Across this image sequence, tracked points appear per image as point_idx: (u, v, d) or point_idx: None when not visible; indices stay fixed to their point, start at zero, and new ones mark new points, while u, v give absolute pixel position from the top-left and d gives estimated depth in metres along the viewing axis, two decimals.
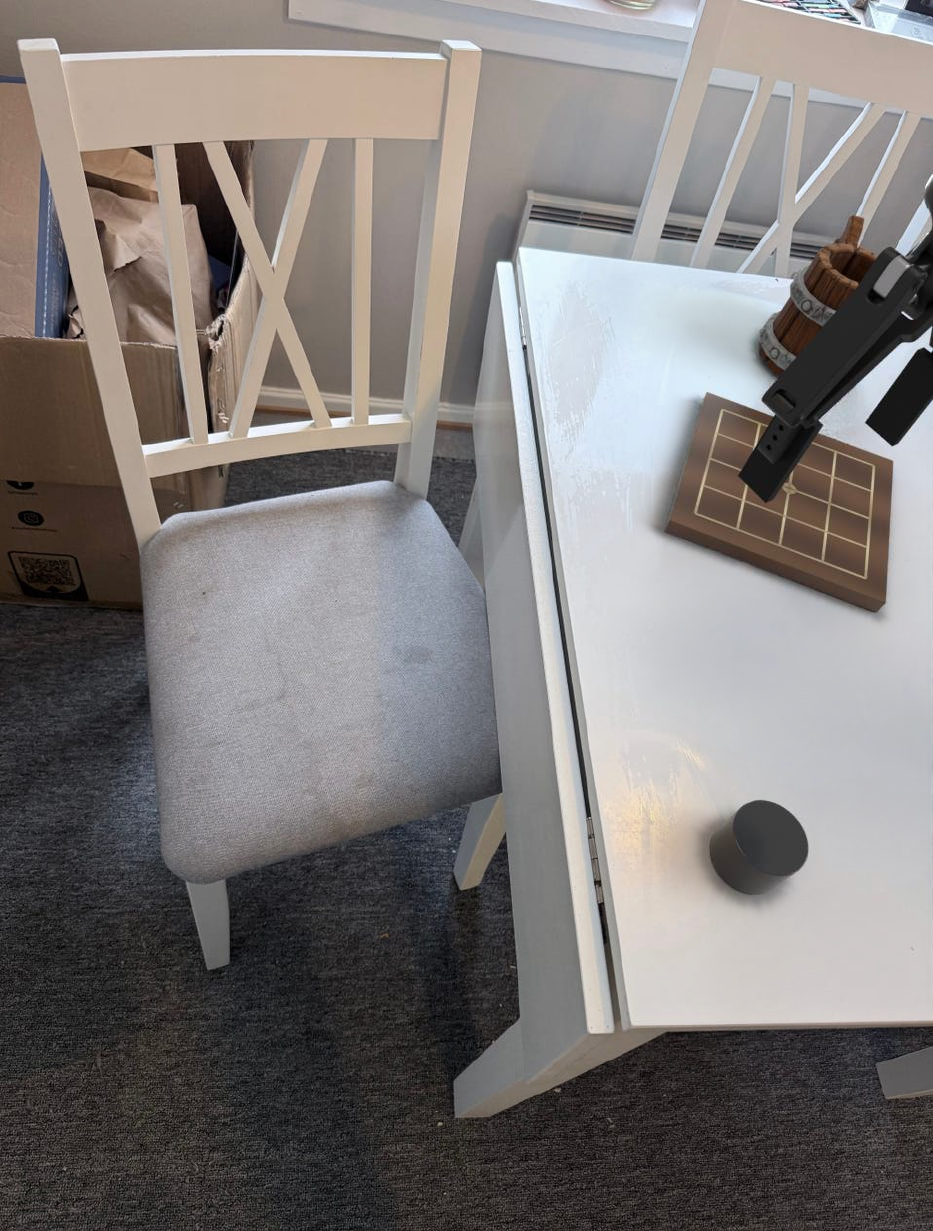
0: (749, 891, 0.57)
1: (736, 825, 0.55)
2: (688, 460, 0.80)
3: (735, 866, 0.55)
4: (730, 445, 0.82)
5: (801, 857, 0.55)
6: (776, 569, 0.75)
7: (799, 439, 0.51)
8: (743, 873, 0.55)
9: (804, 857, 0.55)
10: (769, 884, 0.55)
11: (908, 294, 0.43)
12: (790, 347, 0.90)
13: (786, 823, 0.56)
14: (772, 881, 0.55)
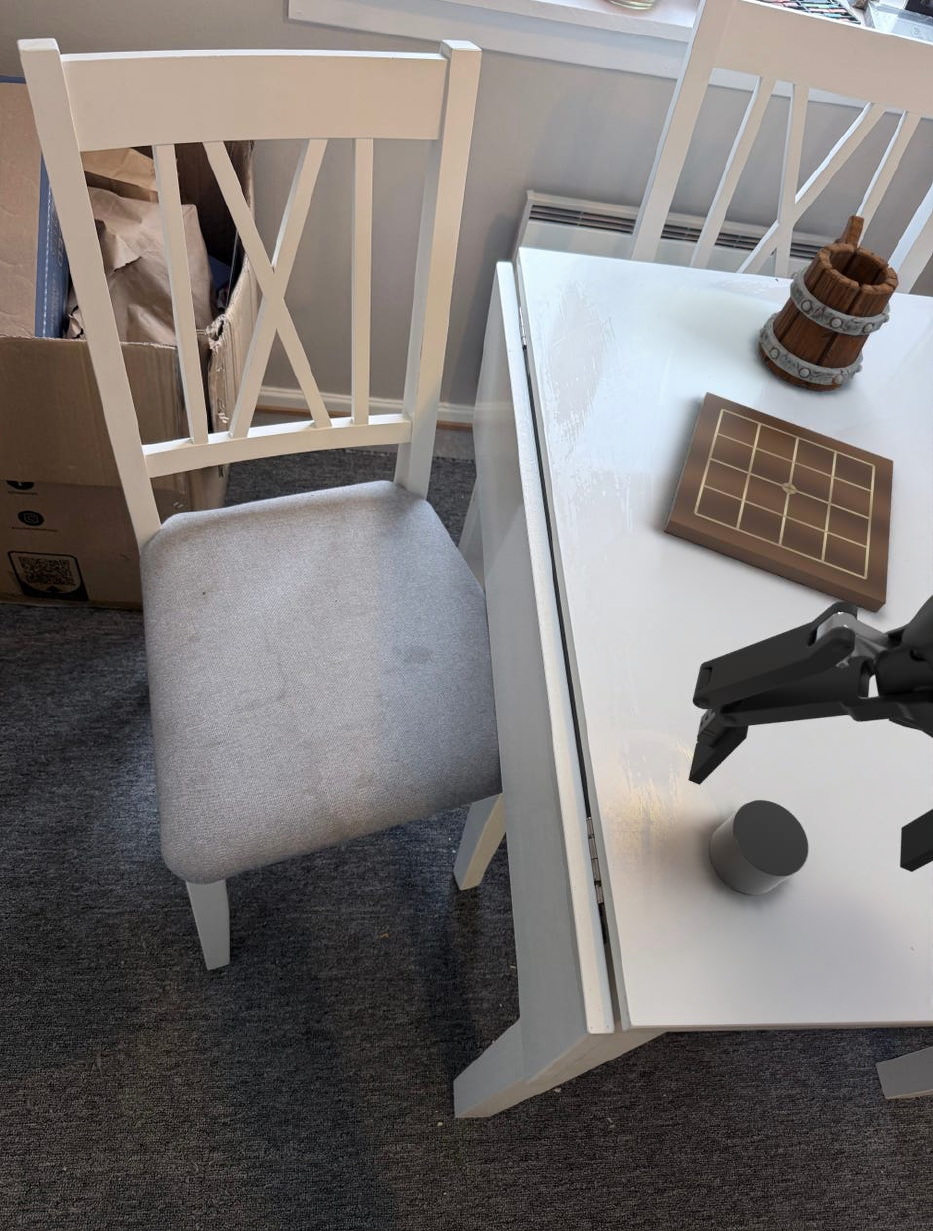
0: (749, 891, 0.57)
1: (736, 825, 0.55)
2: (688, 460, 0.80)
3: (735, 866, 0.55)
4: (730, 445, 0.82)
5: (801, 857, 0.55)
6: (776, 569, 0.75)
7: (725, 736, 0.48)
8: (743, 873, 0.55)
9: (804, 857, 0.55)
10: (769, 884, 0.55)
11: (829, 652, 0.39)
12: (790, 347, 0.90)
13: (786, 823, 0.56)
14: (772, 881, 0.55)
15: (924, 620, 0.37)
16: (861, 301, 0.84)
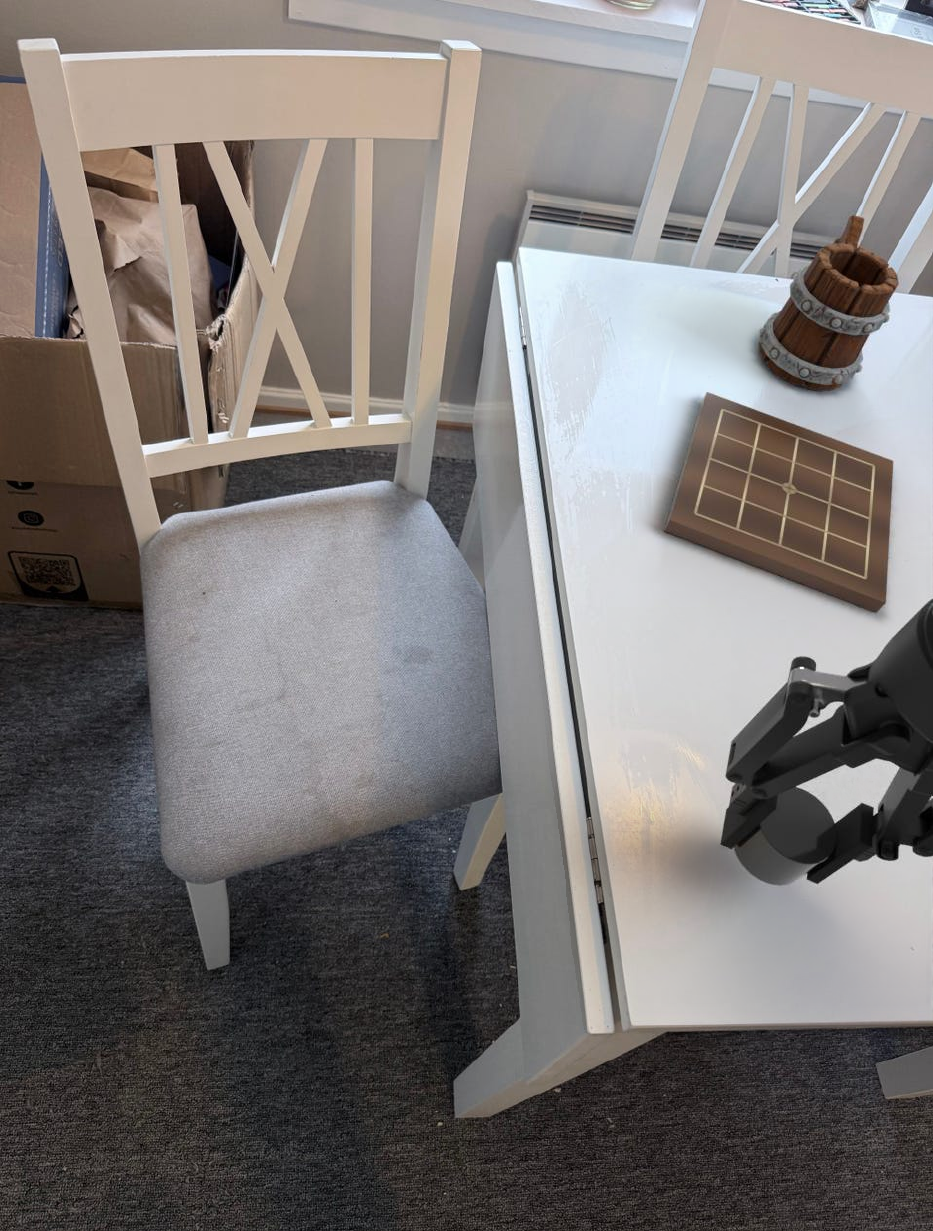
0: (775, 881, 0.54)
1: None
2: (688, 460, 0.80)
3: (760, 854, 0.53)
4: (730, 445, 0.82)
5: (830, 845, 0.52)
6: (776, 569, 0.75)
7: (755, 806, 0.51)
8: (769, 862, 0.53)
9: (833, 845, 0.52)
10: (796, 873, 0.53)
11: (794, 706, 0.43)
12: (790, 347, 0.90)
13: (813, 809, 0.53)
14: (799, 869, 0.52)
15: (887, 659, 0.40)
16: (861, 301, 0.84)
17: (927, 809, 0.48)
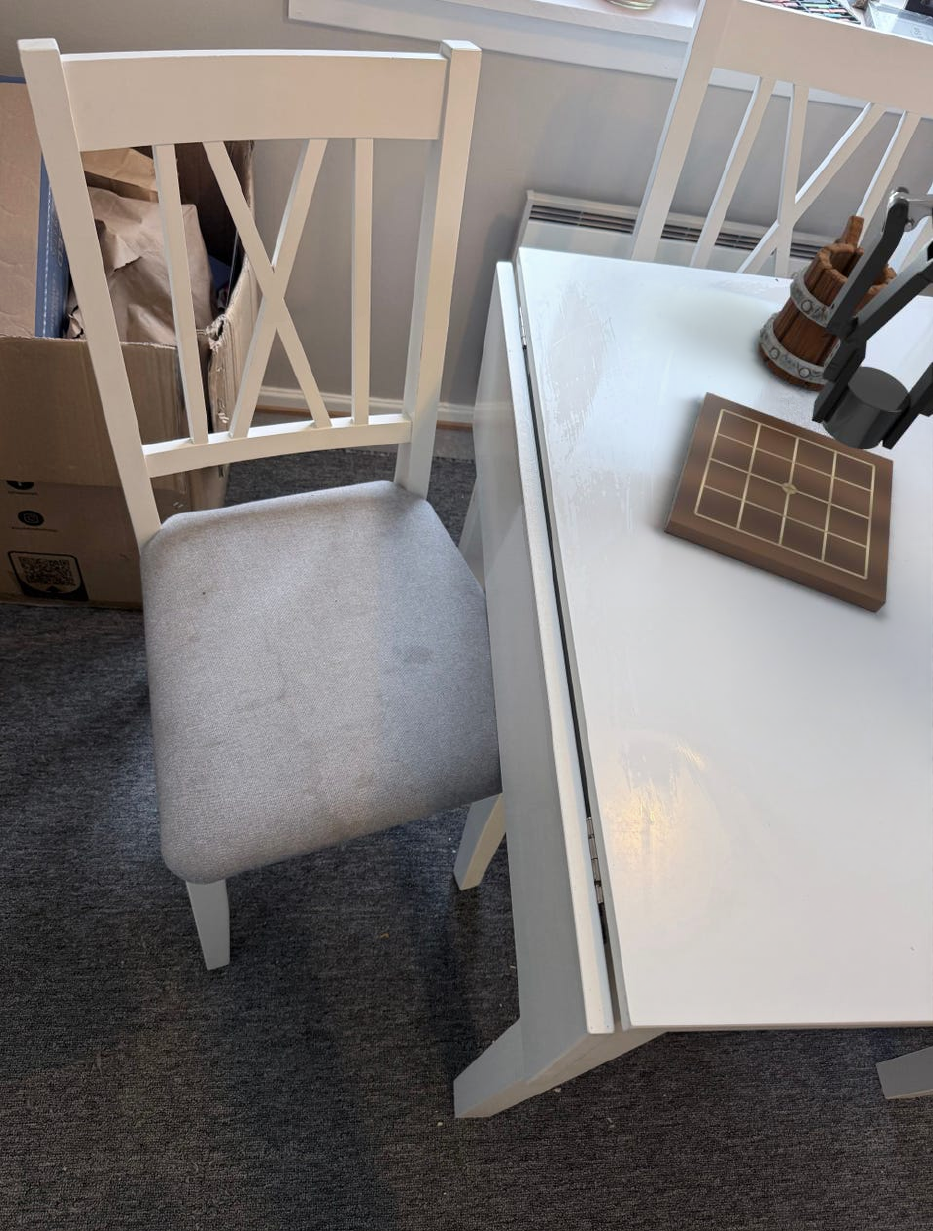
0: (858, 443, 0.66)
1: None
2: (688, 460, 0.80)
3: (847, 414, 0.65)
4: (730, 445, 0.82)
5: (905, 402, 0.65)
6: (776, 569, 0.75)
7: (846, 364, 0.64)
8: (855, 419, 0.65)
9: (907, 403, 0.65)
10: (877, 428, 0.65)
11: (893, 221, 0.55)
12: (790, 347, 0.90)
13: (890, 382, 0.66)
14: (880, 421, 0.64)
15: None
16: None
17: None
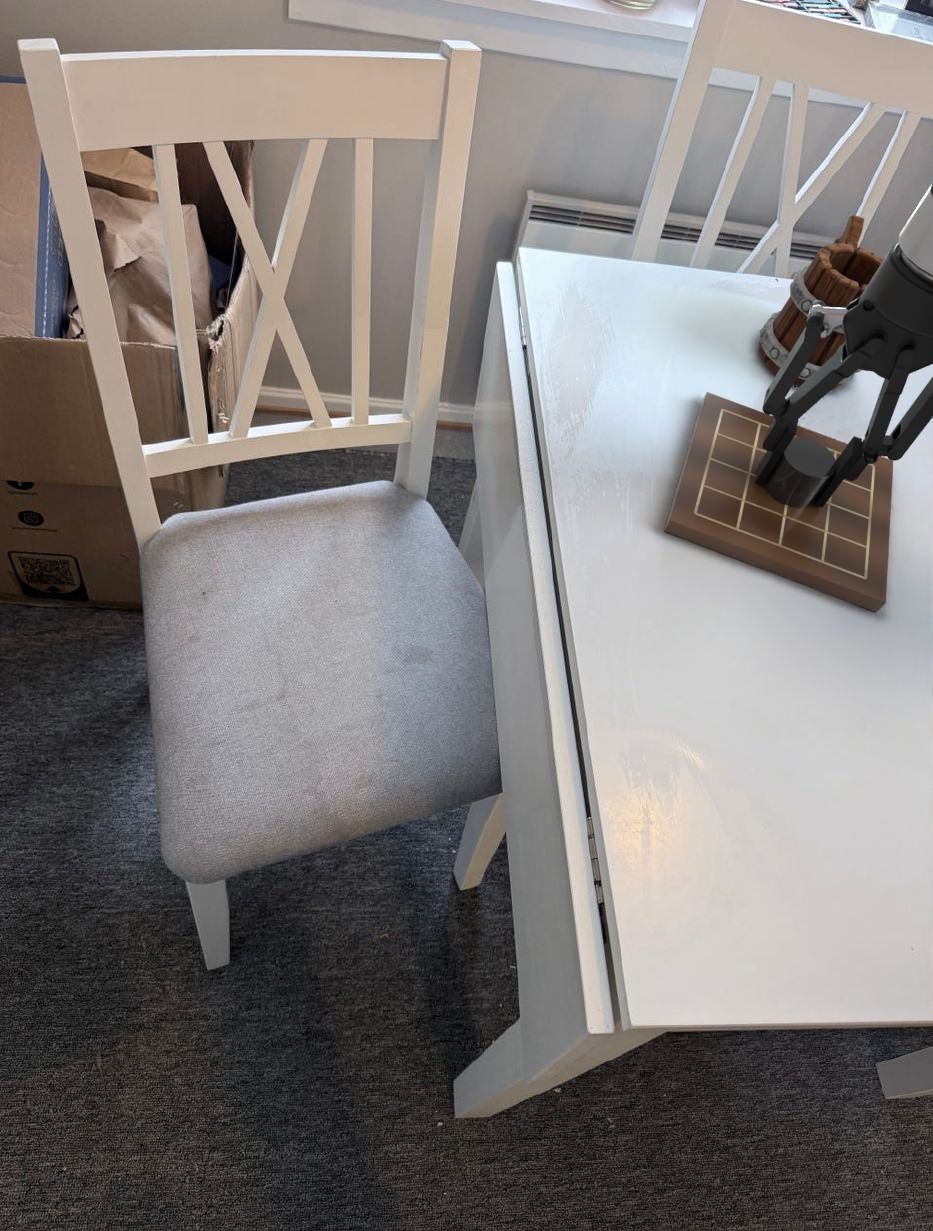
0: (793, 502, 0.78)
1: None
2: (688, 460, 0.80)
3: (783, 478, 0.77)
4: (730, 445, 0.82)
5: (832, 469, 0.76)
6: (776, 569, 0.75)
7: (781, 438, 0.75)
8: (790, 482, 0.77)
9: (834, 469, 0.76)
10: (808, 490, 0.77)
11: (811, 329, 0.67)
12: (790, 347, 0.90)
13: (820, 450, 0.77)
14: (810, 485, 0.76)
15: (871, 283, 0.64)
16: None
17: (897, 428, 0.72)
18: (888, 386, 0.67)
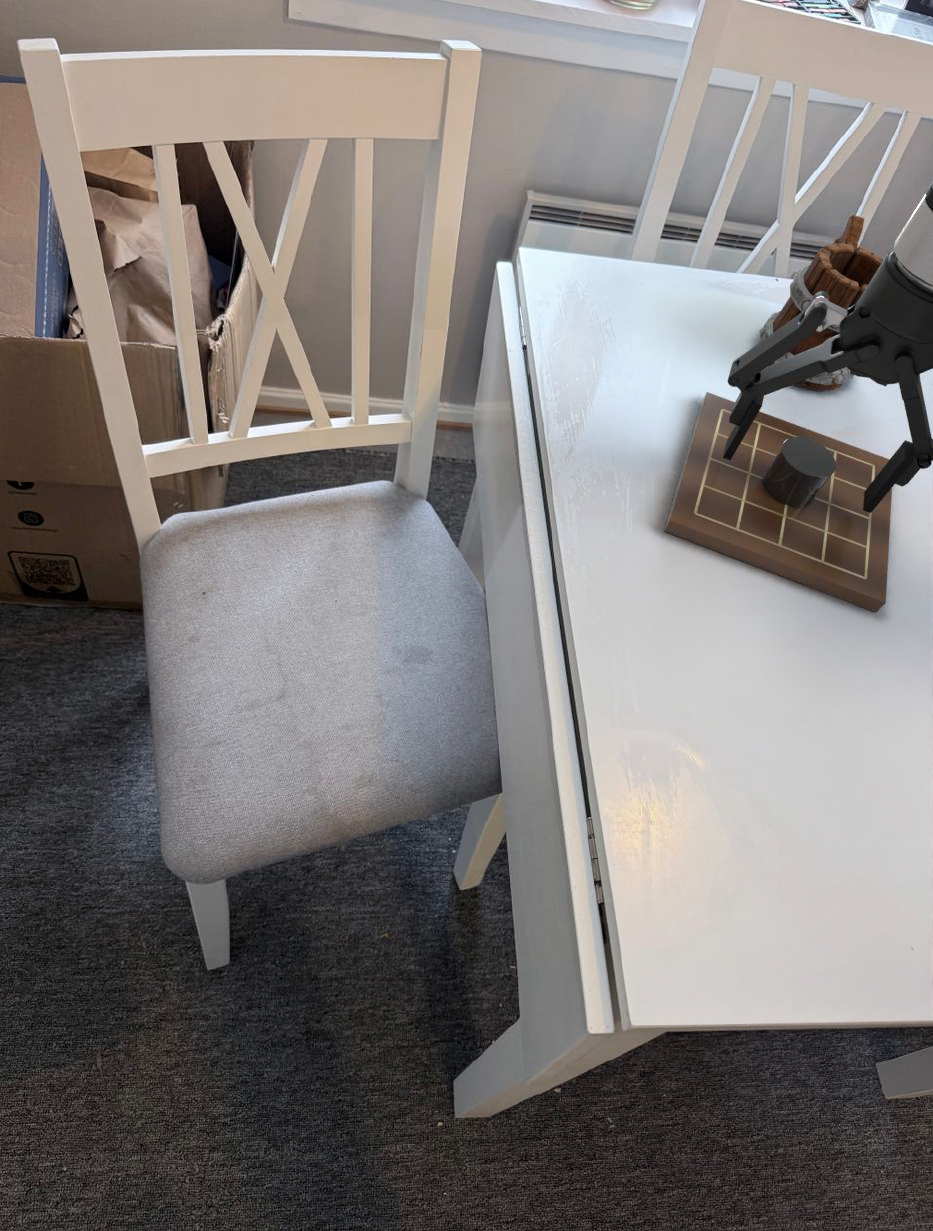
0: (793, 502, 0.78)
1: (784, 448, 0.77)
2: (688, 460, 0.80)
3: (783, 478, 0.77)
4: None
5: (831, 469, 0.76)
6: (776, 569, 0.75)
7: (747, 411, 0.74)
8: (789, 482, 0.77)
9: (833, 469, 0.76)
10: (808, 490, 0.77)
11: (812, 319, 0.66)
12: None
13: (819, 450, 0.77)
14: (810, 484, 0.76)
15: (866, 290, 0.64)
16: None
17: None
18: (902, 394, 0.68)
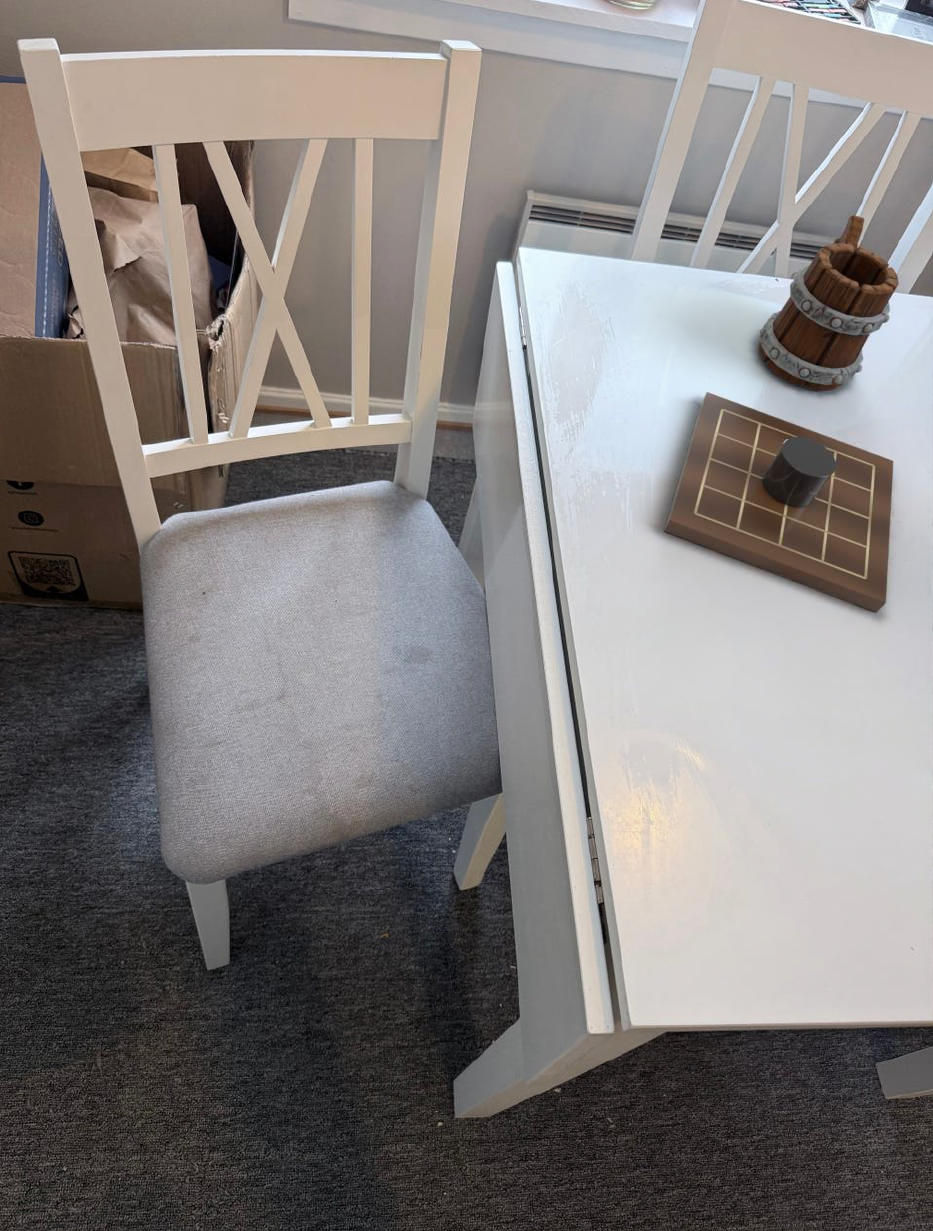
0: (793, 502, 0.78)
1: (784, 448, 0.77)
2: (688, 460, 0.80)
3: (783, 478, 0.77)
4: (730, 445, 0.82)
5: (831, 469, 0.76)
6: (776, 569, 0.75)
7: None
8: (789, 482, 0.77)
9: (833, 469, 0.76)
10: (808, 490, 0.77)
11: None
12: (790, 347, 0.90)
13: (819, 450, 0.77)
14: (810, 484, 0.76)
15: None
16: (861, 301, 0.84)
17: None
18: None
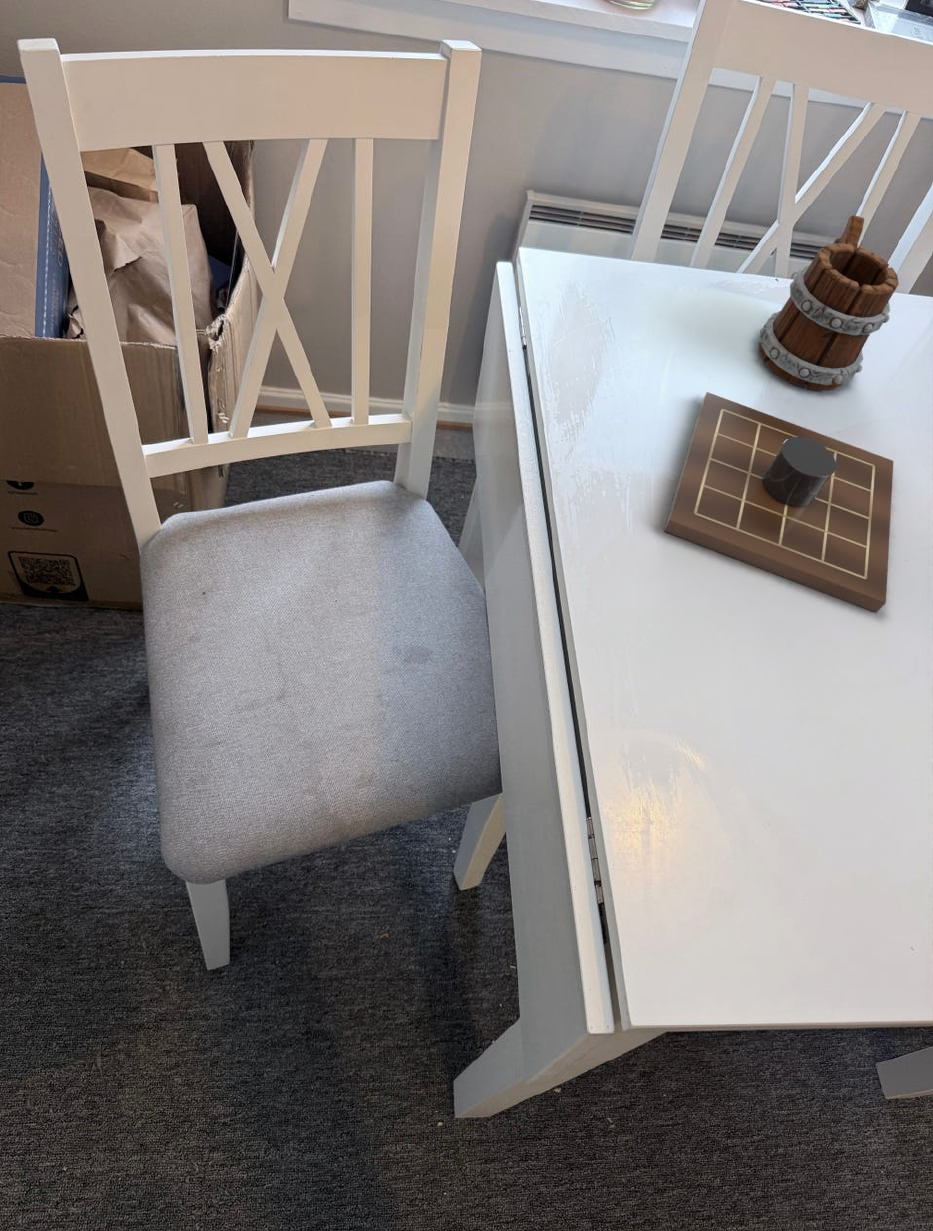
0: (793, 502, 0.78)
1: (784, 448, 0.77)
2: (688, 460, 0.80)
3: (783, 478, 0.77)
4: (730, 445, 0.82)
5: (831, 469, 0.76)
6: (776, 569, 0.75)
7: None
8: (789, 482, 0.77)
9: (833, 469, 0.76)
10: (808, 490, 0.77)
11: None
12: (790, 347, 0.90)
13: (819, 450, 0.77)
14: (810, 484, 0.76)
15: None
16: (861, 301, 0.84)
17: None
18: None
